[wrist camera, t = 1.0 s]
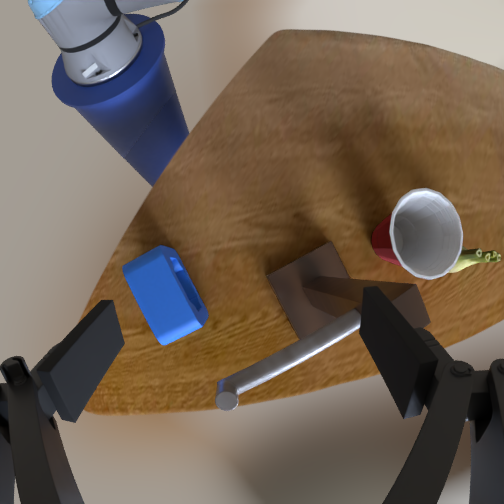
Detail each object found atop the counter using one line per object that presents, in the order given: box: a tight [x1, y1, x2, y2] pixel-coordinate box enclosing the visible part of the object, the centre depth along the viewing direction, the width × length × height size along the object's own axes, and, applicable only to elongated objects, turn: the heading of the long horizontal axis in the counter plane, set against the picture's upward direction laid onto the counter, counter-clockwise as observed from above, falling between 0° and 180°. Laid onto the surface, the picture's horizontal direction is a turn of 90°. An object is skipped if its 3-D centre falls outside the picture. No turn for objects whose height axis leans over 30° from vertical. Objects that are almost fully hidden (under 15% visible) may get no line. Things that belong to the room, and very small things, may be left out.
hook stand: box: [215, 241, 430, 411], centre depth 30 cm, size 19×10×25 cm, turn 118°
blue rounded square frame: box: [123, 245, 209, 345], centre depth 36 cm, size 5×10×10 cm, turn 28°
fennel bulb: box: [447, 246, 501, 273], centre depth 38 cm, size 6×5×12 cm
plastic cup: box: [371, 188, 463, 280], centre depth 37 cm, size 11×11×12 cm
